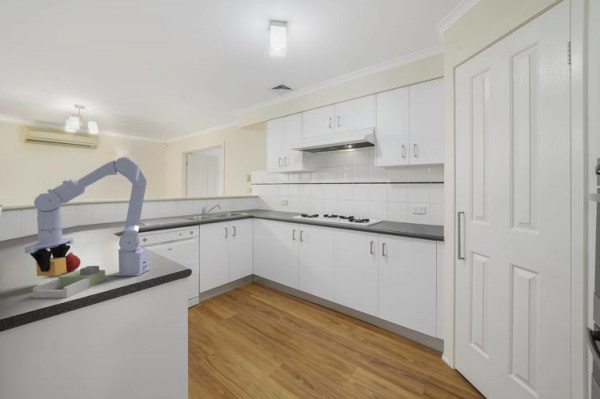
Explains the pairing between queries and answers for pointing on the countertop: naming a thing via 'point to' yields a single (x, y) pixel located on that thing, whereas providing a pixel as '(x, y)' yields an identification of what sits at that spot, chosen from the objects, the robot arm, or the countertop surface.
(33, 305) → the countertop surface
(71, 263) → the onion
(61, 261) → the orange block
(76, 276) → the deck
